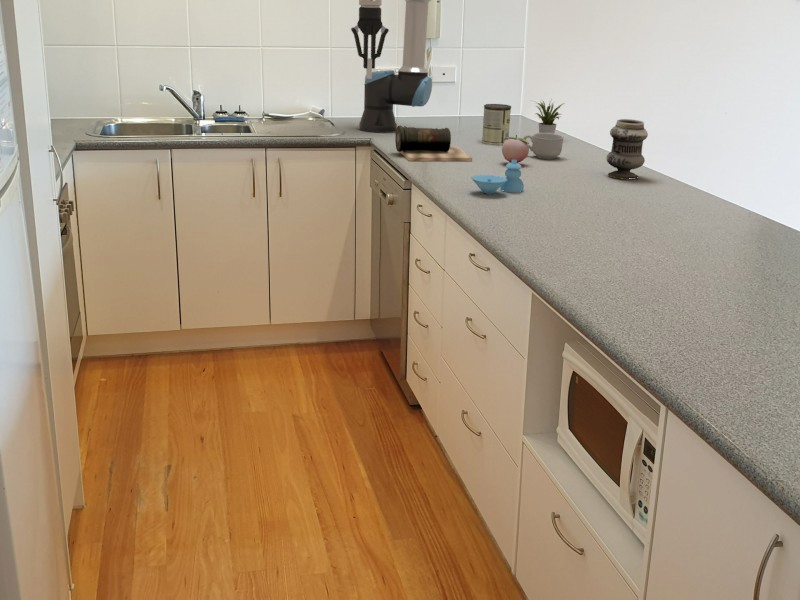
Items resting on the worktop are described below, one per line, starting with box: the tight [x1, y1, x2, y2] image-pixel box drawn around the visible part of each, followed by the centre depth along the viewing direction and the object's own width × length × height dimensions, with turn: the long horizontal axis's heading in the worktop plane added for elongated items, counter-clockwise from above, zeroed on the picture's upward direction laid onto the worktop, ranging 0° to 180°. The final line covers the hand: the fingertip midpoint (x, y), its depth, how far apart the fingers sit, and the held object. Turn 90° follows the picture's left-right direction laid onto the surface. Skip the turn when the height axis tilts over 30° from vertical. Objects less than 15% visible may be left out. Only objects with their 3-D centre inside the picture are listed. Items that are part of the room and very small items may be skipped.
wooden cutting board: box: [399, 145, 473, 162], centre depth 318 cm, size 22×22×1 cm
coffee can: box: [481, 103, 512, 146], centre depth 346 cm, size 10×10×14 cm
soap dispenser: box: [470, 160, 525, 195], centre depth 265 cm, size 18×10×9 cm, turn 127°
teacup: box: [523, 132, 565, 160], centre depth 322 cm, size 14×11×8 cm
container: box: [395, 125, 452, 153], centre depth 316 cm, size 9×9×18 cm
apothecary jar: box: [605, 118, 649, 180], centre depth 292 cm, size 12×12×18 cm
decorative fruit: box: [501, 134, 530, 164], centre depth 306 cm, size 9×8×10 cm
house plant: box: [530, 98, 566, 134], centre depth 357 cm, size 14×14×16 cm
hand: (368, 78), depth 313 cm, fingers closed
